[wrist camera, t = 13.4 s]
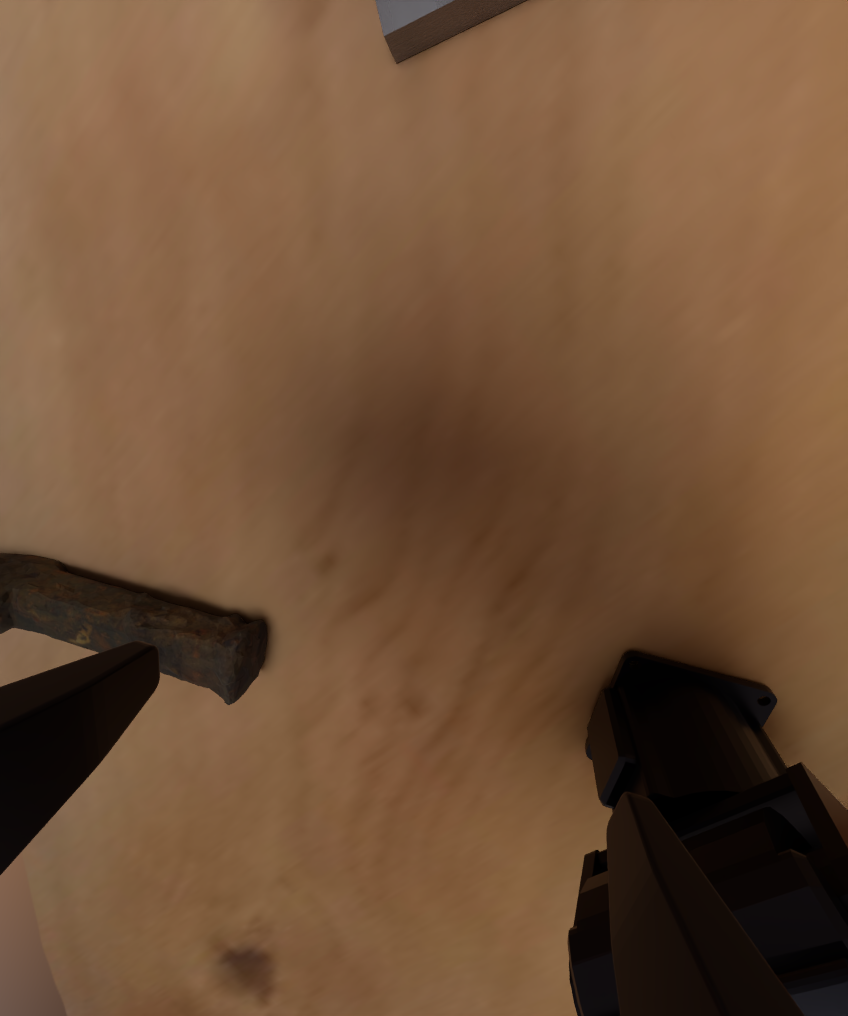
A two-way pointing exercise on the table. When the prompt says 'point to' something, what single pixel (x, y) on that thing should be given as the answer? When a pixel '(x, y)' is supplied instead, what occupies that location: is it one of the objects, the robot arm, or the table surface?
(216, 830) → the table surface
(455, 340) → the table surface
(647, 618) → the table surface
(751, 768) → the robot arm
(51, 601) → the rusty brown bar
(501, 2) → the bolt plate
